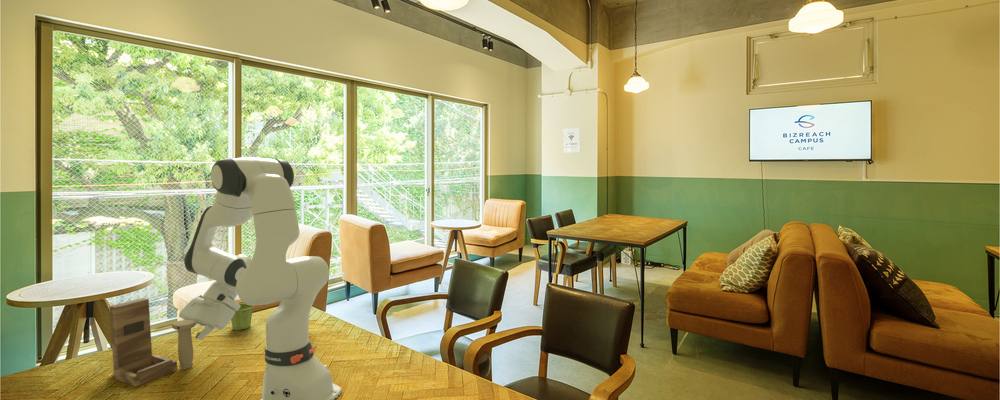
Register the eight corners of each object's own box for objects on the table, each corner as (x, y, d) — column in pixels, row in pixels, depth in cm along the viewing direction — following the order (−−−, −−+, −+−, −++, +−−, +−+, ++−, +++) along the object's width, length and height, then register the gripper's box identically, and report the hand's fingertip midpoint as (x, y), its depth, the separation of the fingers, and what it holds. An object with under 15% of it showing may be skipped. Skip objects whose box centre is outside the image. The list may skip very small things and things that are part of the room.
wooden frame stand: (177, 370, 138) (173, 303, 136) (135, 386, 128) (130, 314, 126) (151, 361, 144) (147, 296, 142) (109, 376, 133) (104, 307, 131)
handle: (182, 363, 142) (180, 319, 141) (201, 364, 142) (199, 320, 141) (171, 370, 137) (168, 325, 136) (190, 371, 137) (188, 325, 136)
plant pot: (237, 322, 178) (237, 302, 178) (260, 323, 178) (259, 303, 177) (222, 331, 169) (221, 310, 168) (246, 332, 169) (245, 310, 168)
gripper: (192, 289, 150) (162, 326, 142) (230, 298, 142) (201, 337, 134) (205, 298, 155) (177, 334, 147) (244, 307, 146) (216, 346, 138)
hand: (189, 336), depth 140 cm, fingers open, 8 cm apart
